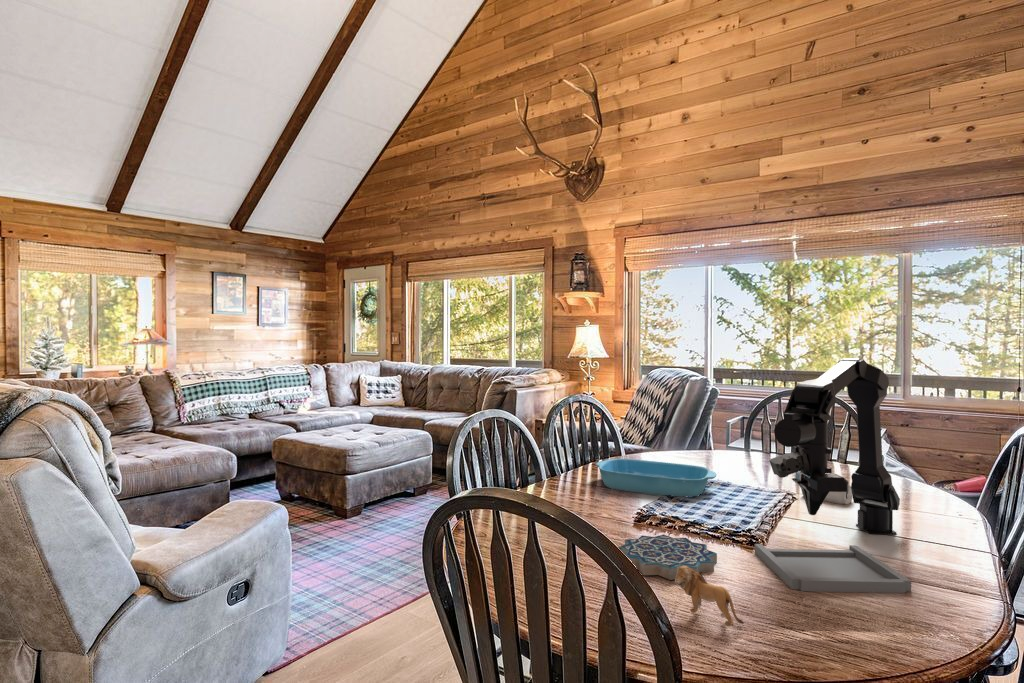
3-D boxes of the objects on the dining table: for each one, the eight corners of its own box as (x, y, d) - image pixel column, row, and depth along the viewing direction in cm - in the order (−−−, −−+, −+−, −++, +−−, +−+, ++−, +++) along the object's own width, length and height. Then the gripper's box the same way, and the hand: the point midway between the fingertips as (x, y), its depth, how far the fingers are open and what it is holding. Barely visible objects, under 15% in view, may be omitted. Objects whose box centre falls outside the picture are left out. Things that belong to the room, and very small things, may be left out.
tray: (856, 554, 130) (856, 545, 130) (913, 593, 111) (913, 582, 111) (754, 552, 131) (754, 543, 131) (793, 591, 112) (793, 580, 112)
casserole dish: (719, 487, 189) (719, 465, 189) (712, 505, 169) (712, 480, 169) (606, 476, 204) (606, 455, 204) (587, 491, 184) (587, 468, 184)
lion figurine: (670, 608, 104) (670, 567, 104) (681, 600, 108) (681, 560, 108) (739, 630, 97) (739, 585, 96) (748, 621, 100) (748, 577, 100)
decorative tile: (720, 552, 133) (720, 541, 133) (710, 586, 114) (710, 574, 114) (631, 539, 141) (631, 529, 141) (608, 569, 123) (609, 558, 123)
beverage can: (802, 474, 175) (846, 481, 166) (811, 479, 179) (854, 486, 170) (799, 496, 173) (843, 504, 164) (807, 500, 177) (851, 509, 168)
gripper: (758, 434, 137) (757, 502, 137) (793, 449, 119) (792, 528, 119) (807, 435, 137) (806, 502, 137) (850, 450, 118) (849, 528, 118)
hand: (812, 514), depth 128 cm, fingers closed
